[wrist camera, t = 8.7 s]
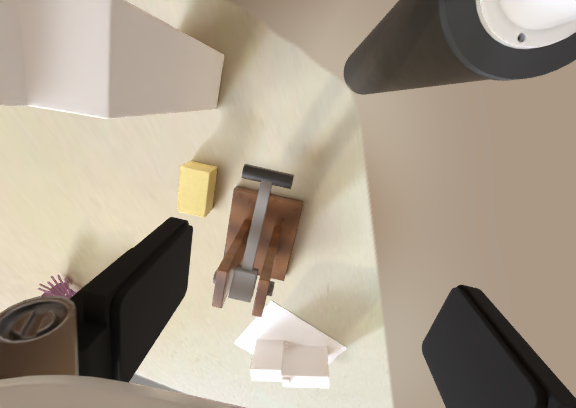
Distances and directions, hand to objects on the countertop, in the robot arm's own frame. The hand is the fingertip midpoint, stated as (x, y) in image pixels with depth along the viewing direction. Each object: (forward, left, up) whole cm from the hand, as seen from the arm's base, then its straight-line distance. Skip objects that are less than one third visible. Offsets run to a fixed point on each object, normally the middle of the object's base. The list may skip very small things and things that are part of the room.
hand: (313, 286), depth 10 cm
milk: (-6, -15, -26) cm, 30 cm away
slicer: (+12, -4, -26) cm, 29 cm away
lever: (+8, -4, -18) cm, 20 cm away
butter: (+7, -13, -26) cm, 30 cm away
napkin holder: (+31, +4, -26) cm, 41 cm away
